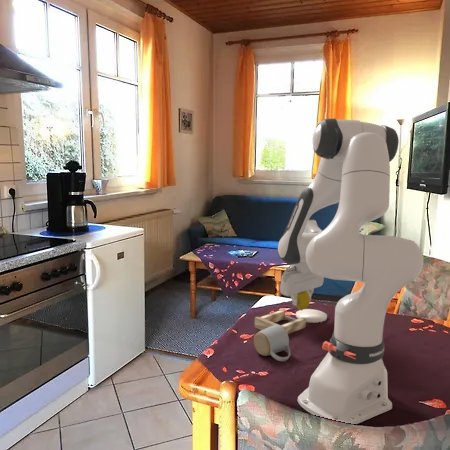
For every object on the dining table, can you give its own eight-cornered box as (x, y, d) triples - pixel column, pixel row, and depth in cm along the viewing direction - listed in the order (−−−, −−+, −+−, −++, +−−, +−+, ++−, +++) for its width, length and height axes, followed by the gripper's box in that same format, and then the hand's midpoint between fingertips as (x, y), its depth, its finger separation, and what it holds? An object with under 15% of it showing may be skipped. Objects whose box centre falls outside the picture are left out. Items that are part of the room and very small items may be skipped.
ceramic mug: (251, 351, 125) (252, 327, 123) (271, 344, 130) (272, 320, 128) (276, 366, 117) (277, 339, 115) (297, 357, 122) (298, 332, 120)
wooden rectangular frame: (279, 337, 135) (279, 327, 134) (254, 327, 143) (254, 317, 142) (307, 326, 144) (307, 316, 144) (282, 317, 152) (282, 308, 152)
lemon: (310, 313, 147) (311, 291, 146) (294, 313, 147) (295, 291, 146) (307, 307, 153) (308, 286, 152) (292, 307, 153) (293, 286, 152)
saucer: (314, 325, 145) (314, 322, 145) (289, 316, 153) (289, 313, 153) (333, 317, 152) (333, 315, 152) (308, 309, 160) (308, 307, 160)
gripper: (290, 271, 138) (289, 311, 141) (327, 261, 152) (326, 298, 154) (276, 267, 143) (275, 306, 145) (313, 258, 157) (311, 294, 159)
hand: (301, 302), depth 150 cm, fingers closed on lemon, 5 cm apart
